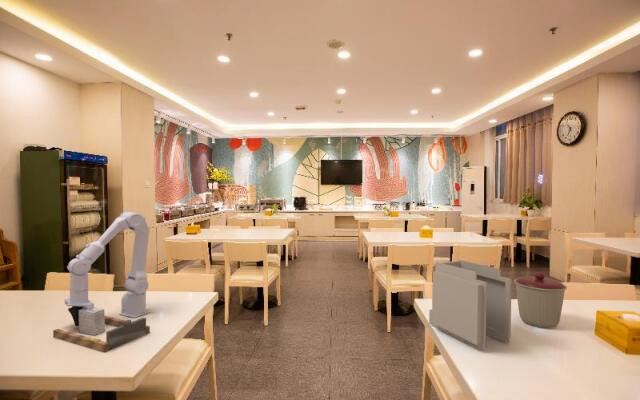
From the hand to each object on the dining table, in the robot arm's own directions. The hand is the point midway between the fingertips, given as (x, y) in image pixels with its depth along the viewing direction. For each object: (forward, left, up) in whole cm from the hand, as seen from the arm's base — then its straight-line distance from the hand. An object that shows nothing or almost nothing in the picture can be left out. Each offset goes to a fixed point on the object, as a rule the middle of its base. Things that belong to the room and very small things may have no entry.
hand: (79, 325), depth 127 cm
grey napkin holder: (+137, +56, -2) cm, 148 cm away
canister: (+164, +81, -2) cm, 182 cm away
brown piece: (+14, 0, -1) cm, 14 cm away
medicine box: (+8, 0, -2) cm, 8 cm away
